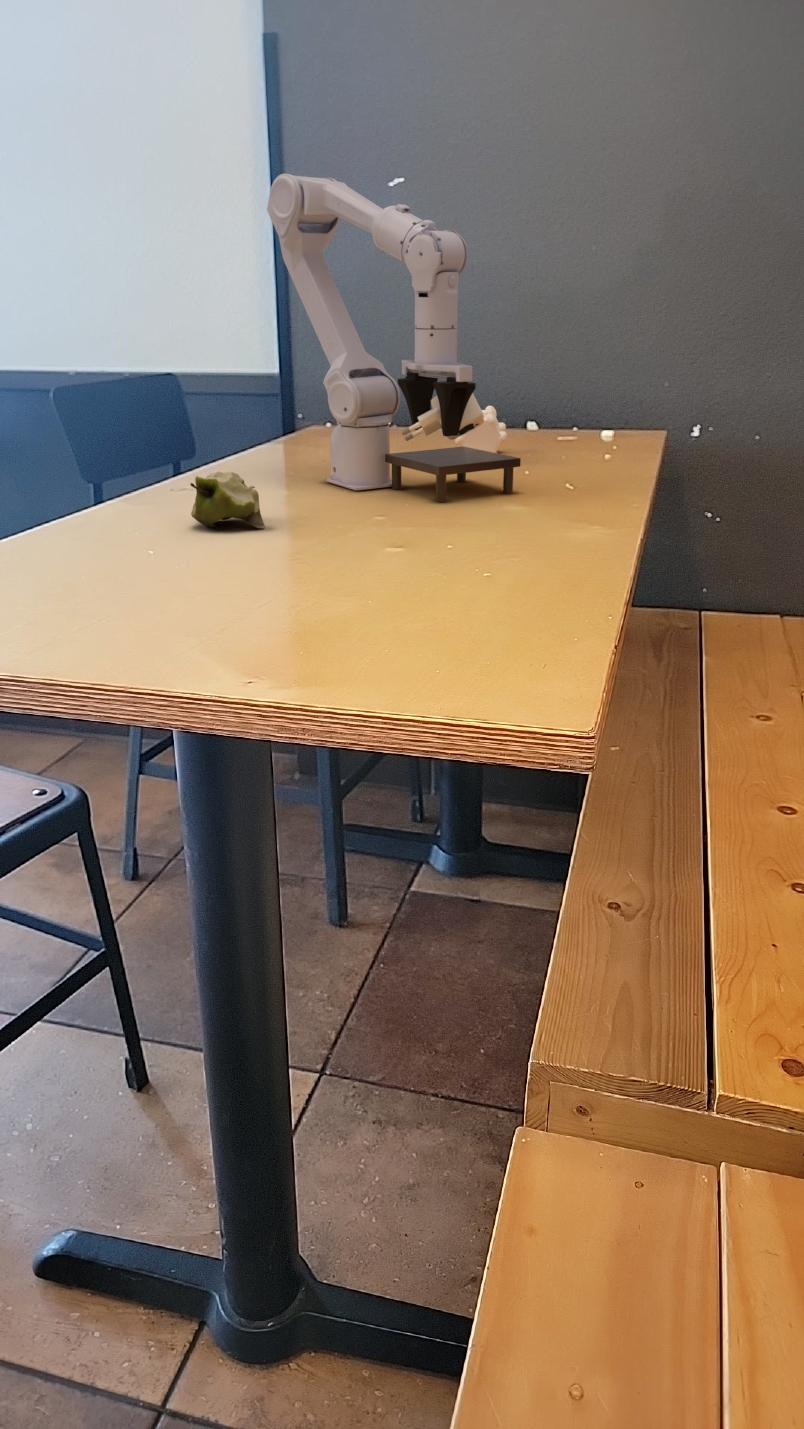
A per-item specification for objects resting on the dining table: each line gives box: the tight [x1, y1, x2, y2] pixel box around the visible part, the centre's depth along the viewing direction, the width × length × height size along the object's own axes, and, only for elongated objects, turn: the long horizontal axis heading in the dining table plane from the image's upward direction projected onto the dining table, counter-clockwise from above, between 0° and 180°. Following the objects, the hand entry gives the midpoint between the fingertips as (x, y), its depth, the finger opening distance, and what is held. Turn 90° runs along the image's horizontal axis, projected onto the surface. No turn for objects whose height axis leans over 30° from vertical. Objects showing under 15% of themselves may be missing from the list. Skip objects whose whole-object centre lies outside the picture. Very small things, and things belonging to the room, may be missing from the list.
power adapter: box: [401, 392, 484, 442], centre depth 148 cm, size 11×5×6 cm
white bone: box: [454, 405, 508, 453], centre depth 182 cm, size 15×9×8 cm, turn 176°
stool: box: [385, 446, 522, 503], centre depth 154 cm, size 14×14×5 cm
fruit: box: [190, 471, 266, 530], centre depth 132 cm, size 9×9×8 cm
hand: (435, 432), depth 148 cm, fingers closed on power adapter, 7 cm apart
